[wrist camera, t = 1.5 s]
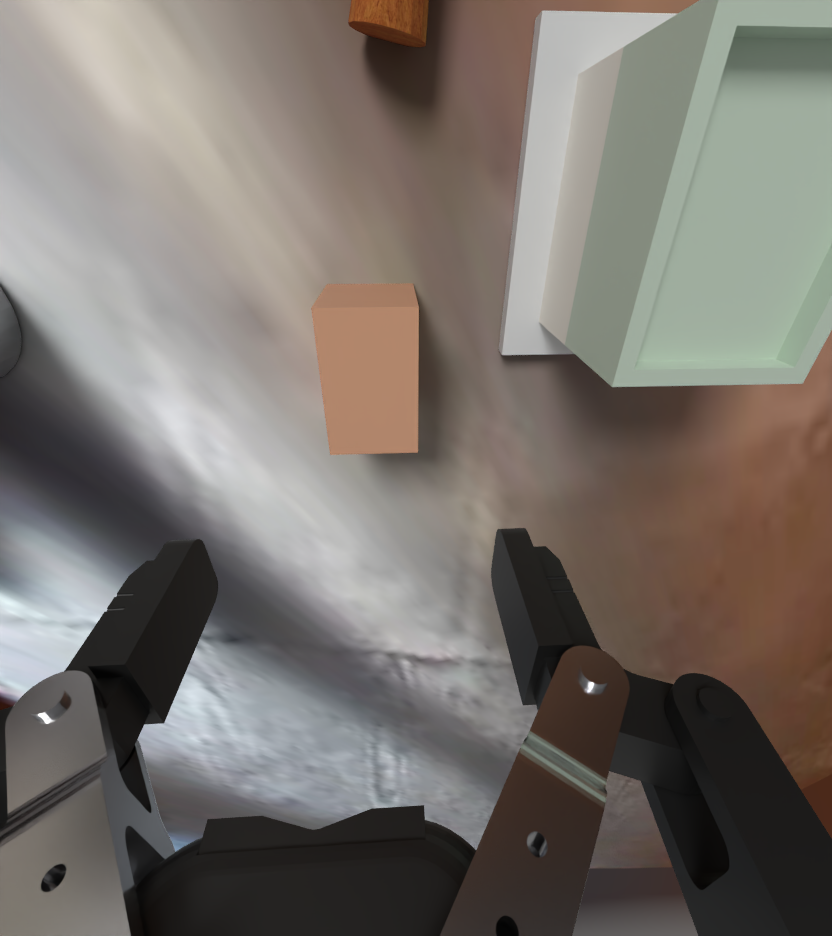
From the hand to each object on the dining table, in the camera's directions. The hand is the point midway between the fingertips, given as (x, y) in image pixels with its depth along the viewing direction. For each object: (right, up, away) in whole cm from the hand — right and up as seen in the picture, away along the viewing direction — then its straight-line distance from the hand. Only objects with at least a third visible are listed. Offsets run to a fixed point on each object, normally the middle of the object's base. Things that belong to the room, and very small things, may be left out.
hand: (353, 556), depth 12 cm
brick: (-1, +10, +15) cm, 18 cm away
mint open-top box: (+13, +16, +12) cm, 24 cm away
